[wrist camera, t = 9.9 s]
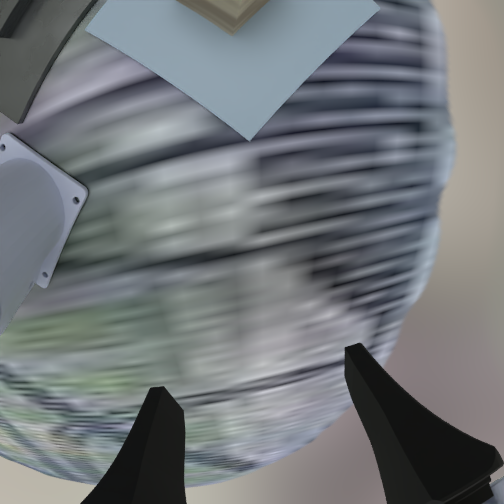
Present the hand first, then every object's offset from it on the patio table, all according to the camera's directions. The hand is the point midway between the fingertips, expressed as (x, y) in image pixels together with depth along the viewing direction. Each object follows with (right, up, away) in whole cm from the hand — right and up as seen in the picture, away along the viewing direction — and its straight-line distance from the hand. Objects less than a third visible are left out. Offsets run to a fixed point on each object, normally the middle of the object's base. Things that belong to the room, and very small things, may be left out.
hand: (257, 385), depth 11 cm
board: (-1, +19, +1) cm, 19 cm away
